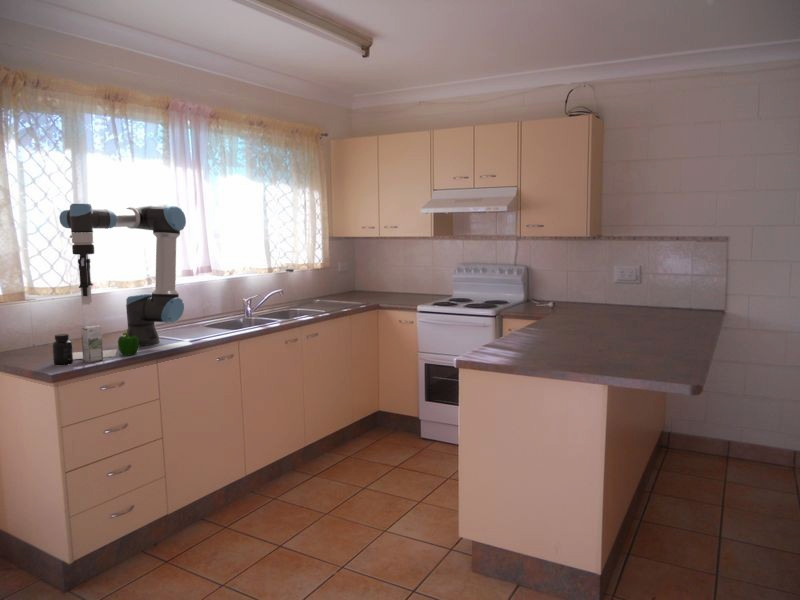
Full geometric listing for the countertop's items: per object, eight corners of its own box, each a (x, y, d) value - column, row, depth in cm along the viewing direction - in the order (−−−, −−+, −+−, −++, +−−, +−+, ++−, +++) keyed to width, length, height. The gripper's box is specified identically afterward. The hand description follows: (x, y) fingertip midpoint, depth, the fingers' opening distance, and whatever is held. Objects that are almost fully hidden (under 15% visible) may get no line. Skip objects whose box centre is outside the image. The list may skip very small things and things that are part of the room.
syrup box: (97, 358, 252) (94, 324, 250) (103, 360, 248) (101, 325, 246) (82, 360, 247) (80, 325, 245) (89, 362, 243) (87, 327, 242)
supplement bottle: (49, 365, 239) (47, 335, 238) (64, 361, 246) (62, 332, 244) (62, 366, 237) (60, 336, 235) (77, 363, 243) (75, 333, 242)
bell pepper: (132, 351, 265) (130, 329, 263) (143, 354, 260) (141, 331, 259) (113, 355, 258) (112, 332, 256) (124, 357, 253) (123, 334, 252)
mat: (117, 350, 268) (117, 349, 268) (115, 357, 254) (115, 356, 254) (71, 353, 261) (71, 352, 261) (67, 360, 247) (66, 359, 247)
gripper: (75, 243, 240) (78, 301, 243) (68, 244, 222) (73, 306, 225) (96, 243, 243) (99, 300, 245) (91, 244, 225) (95, 305, 228)
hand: (86, 303), depth 235 cm, fingers open, 6 cm apart
